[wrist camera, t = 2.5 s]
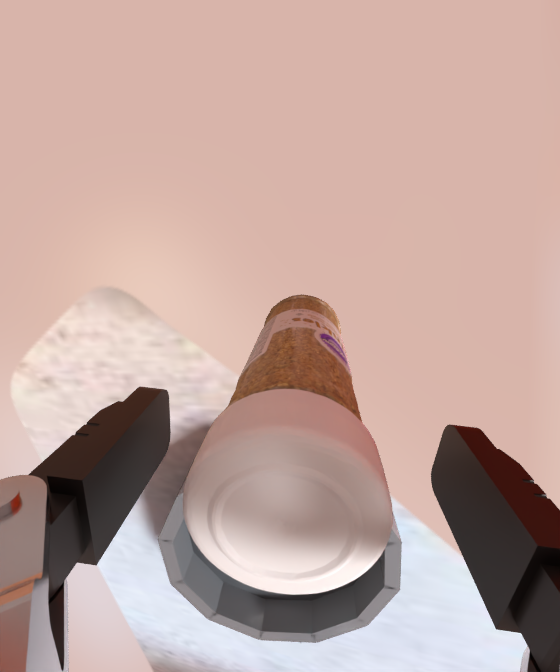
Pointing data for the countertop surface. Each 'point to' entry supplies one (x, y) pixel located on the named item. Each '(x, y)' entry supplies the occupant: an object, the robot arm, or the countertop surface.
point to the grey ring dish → (275, 608)
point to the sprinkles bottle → (291, 465)
